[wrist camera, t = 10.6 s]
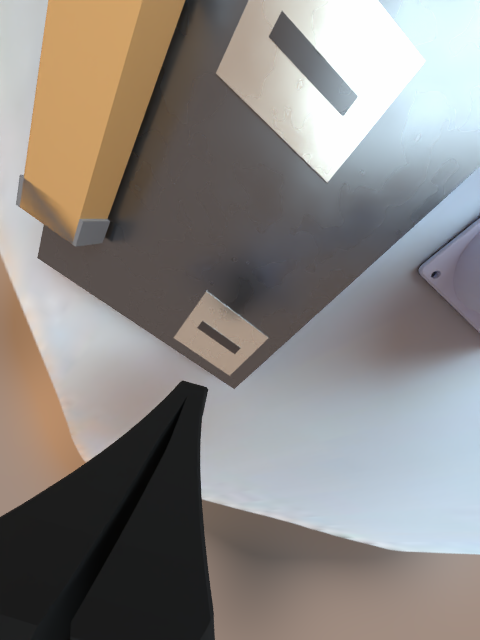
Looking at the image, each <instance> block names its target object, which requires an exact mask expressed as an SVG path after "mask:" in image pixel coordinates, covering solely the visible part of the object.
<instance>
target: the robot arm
mask: <svg viewBox="0 0 480 640" xmlns="http://www.w3.org/2000/svg"><path fill="white" fill-rule="evenodd" d="M435 271H436V274H435V275H434V276H433V277H431V275H432V273H433V272H435ZM419 274H420V275H421V276H422V277H423V278H424V279H425V280H426V281H427V282H428V283H429V284H430V285H431V286H432V287H433V288H434V289H435V290H436V291H437V292H438V293H439V294H440V295H441V296H442V297H443V298H444V299H445V300H446V301H447V302H449V303H450V304H451V305H452V306H453V307H454V308H455V309H456V310H457V311H458V312H459V313H460V314H461V315H462V316H463V317H464V318H465V319H466V320H467V321H468V322H469V323H470V324H471V325H472V326H473V327H474V328H475V329H476V330H477V331H478V332H479V333H480V218H479V219H478V220H477V221H475V222H474V223H473V224H472V225H471V226H469V227H468V228H467V229H466V230H464V231H463V232H462V233H461V234H459V235H458V236H457V237H456V238H454V239H453V240H452V241H451V242H449V243H448V244H447V245H446V246H444V247H443V248H442V249H441V250H439V251H438V252H437V253H436V254H435V255H433V256H432V257H431V258H430V259H428V260H427V261H426V262H425V263H423V264H422V265H421V266H420V268H419ZM207 392H208V389H207V387H204V386H200V385H197V384H193V383H189V382H186V381H181V382H180V383H179V384H178V385H177V386H176V387H175V389H174V390H173V391H172V392H171V393H170V394H169V395H168V396H167V397H166V398H165V399H164V400H163V401H162V402H161V403H160V404H159V405H158V406H157V407H155V408H154V409H153V410H152V411H151V412H150V413H149V414H148V415H147V416H146V417H145V418H143V419H142V420H141V421H140V422H139V423H138V424H136V425H135V426H134V427H133V428H132V429H130V430H129V431H128V432H127V433H126V434H124V435H123V436H122V437H121V438H119V439H118V440H117V441H115V442H114V443H113V444H112V445H110V446H109V447H108V448H106V449H105V450H104V451H102V452H101V453H99V454H98V455H97V456H95V457H94V458H92V459H91V460H90V461H88V462H87V463H85V464H84V465H82V466H81V467H80V468H78V469H77V470H75V471H74V472H72V473H71V474H69V475H68V476H66V477H65V478H63V479H61V480H60V481H58V482H57V483H55V484H54V485H52V486H50V487H49V488H47V489H46V490H44V491H43V492H41V493H39V494H38V495H36V496H35V497H33V498H32V499H30V500H28V501H27V502H25V503H24V504H22V505H20V506H19V507H17V508H15V509H13V510H11V511H10V512H8V513H6V514H5V515H3V516H1V517H0V640H215V636H214V613H213V604H212V597H211V590H210V581H209V573H208V566H207V555H206V546H205V537H204V524H203V512H202V499H201V477H200V438H201V423H202V415H203V412H204V407H205V402H206V397H207Z"/></svg>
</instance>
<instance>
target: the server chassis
mask: <svg viewBox="0 0 480 640" xmlns="http://www.w3.org/2000/svg"><path fill="white" fill-rule="evenodd" d="M479 167H480V0H185V3H184V5H183V8H182V11H181V14H180V17H179V20H178V22H177V25H176V28H175V31H174V34H173V36H172V39H171V42H170V45H169V48H168V50H167V53H166V56H165V59H164V62H163V64H162V67H161V70H160V73H159V76H158V78H157V81H156V84H155V87H154V90H153V93H152V95H151V98H150V101H149V104H148V107H147V109H146V112H145V115H144V118H143V121H142V123H141V126H140V129H139V132H138V135H137V137H136V140H135V143H134V146H133V149H132V152H131V154H130V157H129V160H128V163H127V166H126V168H125V171H124V174H123V177H122V180H121V182H120V185H119V188H118V191H117V194H116V196H115V199H114V202H113V205H112V208H111V210H110V213H109V216H108V220H109V221H110V224H109V226H108V229H107V232H106V235H105V237H104V240H103V243H99V244H92V245H84V246H77V247H75V246H74V245H73V244H71V243H70V242H68V241H67V240H65V239H64V238H63V237H61V236H60V235H58V234H57V233H56V232H54V231H53V230H51V229H50V228H49V227H47V226H46V225H44V227H43V232H42V237H41V243H40V248H39V253H38V259H40V260H41V261H43V262H44V263H46V264H47V265H49V266H50V267H52V268H53V269H55V270H56V271H58V272H59V273H61V274H62V275H64V276H65V277H67V278H68V279H70V280H71V281H73V282H74V283H76V284H77V285H79V286H80V287H82V288H83V289H85V290H86V291H88V292H89V293H91V294H92V295H94V296H95V297H97V298H99V299H100V300H102V301H103V302H105V303H106V304H108V305H109V306H111V307H112V308H114V309H115V310H117V311H118V312H120V313H121V314H123V315H124V316H126V317H127V318H129V319H130V320H132V321H133V322H135V323H136V324H138V325H139V326H141V327H142V328H144V329H145V330H147V331H148V332H150V333H151V334H153V335H154V336H156V337H157V338H159V339H160V340H162V341H163V342H165V343H166V344H168V345H169V346H171V347H172V348H174V349H175V350H177V351H178V352H180V353H181V354H183V355H184V356H186V357H187V358H189V359H190V360H192V361H193V362H195V363H196V364H198V365H199V366H201V367H202V368H204V369H205V370H207V371H208V372H210V373H211V374H213V375H214V376H216V377H217V378H219V379H220V380H222V381H223V382H225V383H226V384H228V385H229V386H231V387H232V388H234V389H235V388H236V387H237V386H238V385H239V384H240V383H241V382H242V381H243V380H245V379H246V378H247V377H248V376H249V375H250V374H251V373H252V372H253V371H255V370H256V369H257V368H258V367H259V366H260V365H261V364H262V363H263V362H264V361H266V360H267V359H268V358H269V357H270V356H271V355H272V354H273V353H274V352H276V351H277V350H278V349H279V348H280V347H281V346H282V345H283V344H284V343H285V342H287V341H288V340H289V339H290V338H291V337H292V336H293V335H294V334H295V333H296V332H298V331H299V330H300V329H301V328H302V327H303V326H304V325H305V324H306V323H308V322H309V321H310V320H311V319H312V318H313V317H314V316H315V315H316V314H317V313H319V312H320V311H321V310H322V309H323V308H324V307H325V306H326V305H327V304H329V303H330V302H331V301H332V300H333V299H334V298H335V297H336V296H337V295H338V294H340V293H341V292H342V291H343V290H344V289H345V288H346V287H347V286H348V285H350V284H351V283H352V282H353V281H354V280H355V279H356V278H357V277H358V276H359V275H361V274H362V273H363V272H364V271H365V270H366V269H367V268H368V267H369V266H370V265H372V264H373V263H374V262H375V261H376V260H377V259H378V258H379V257H380V256H382V255H383V254H384V253H385V252H386V251H387V250H388V249H389V248H390V247H391V246H393V245H394V244H395V243H396V242H397V241H398V240H399V239H400V238H401V237H403V236H404V235H405V234H406V233H407V232H408V231H409V230H410V229H411V228H412V227H414V226H415V225H416V224H417V223H418V222H419V221H420V220H421V219H422V218H423V217H425V216H426V215H427V214H428V213H429V212H430V211H431V210H432V209H433V208H435V207H436V206H437V205H438V204H439V203H440V202H441V201H442V200H443V199H444V198H446V197H447V196H448V195H449V194H450V193H451V192H452V191H453V190H454V189H456V188H457V187H458V186H459V185H460V184H461V183H462V182H463V181H464V180H465V179H467V178H468V177H469V176H470V175H471V174H472V173H473V172H474V171H475V170H476V169H478V168H479Z"/></svg>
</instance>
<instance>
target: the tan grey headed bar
mask: <svg viewBox="0 0 480 640" xmlns="http://www.w3.org/2000/svg"><path fill="white" fill-rule="evenodd" d="M184 3H185V0H48V8H47V15H46V22H45V29H44V36H43V43H42V51H41V58H40V65H39V72H38V79H37V87H36V94H35V101H34V108H33V115H32V123H31V130H30V137H29V144H28V151H27V159H26V166H25V173H24V175H20V178H19V186H18V193H17V201H16V205H18V206H19V207H20V208H22V209H23V210H25V211H26V212H27V213H29V214H30V215H32V216H33V217H34V218H36V219H37V220H39V221H40V222H42V223H43V224H44V225H46V226H47V227H49V228H50V229H51V230H53V231H54V232H56V233H57V234H58V235H60V236H61V237H63V238H64V239H65V240H67V241H68V242H70V243H71V244H73V245H74V246H75V247H77V246H84V245H92V244H99V243H103V240H104V237H105V235H106V232H107V229H108V226H109V224H110V221H109V220H108V216H109V213H110V210H111V208H112V205H113V202H114V199H115V196H116V194H117V191H118V188H119V185H120V182H121V180H122V177H123V174H124V171H125V168H126V166H127V163H128V160H129V157H130V154H131V152H132V149H133V146H134V143H135V140H136V137H137V135H138V132H139V129H140V126H141V123H142V121H143V118H144V115H145V112H146V109H147V107H148V104H149V101H150V98H151V95H152V93H153V90H154V87H155V84H156V81H157V78H158V76H159V73H160V70H161V67H162V64H163V62H164V59H165V56H166V53H167V50H168V48H169V45H170V42H171V39H172V36H173V34H174V31H175V28H176V25H177V22H178V20H179V17H180V14H181V11H182V8H183V5H184Z"/></svg>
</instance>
